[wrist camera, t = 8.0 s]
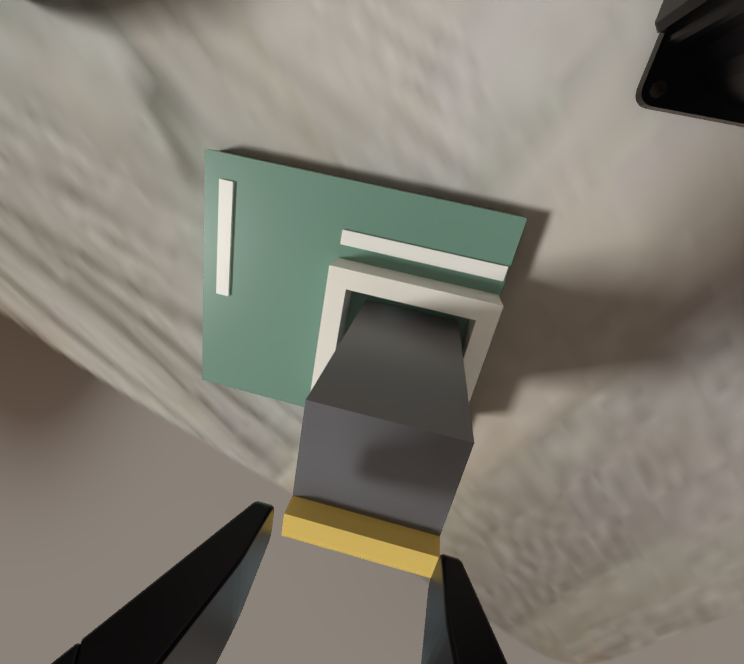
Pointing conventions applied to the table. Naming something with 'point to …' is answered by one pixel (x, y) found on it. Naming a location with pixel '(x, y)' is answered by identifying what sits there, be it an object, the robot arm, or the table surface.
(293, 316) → the header board
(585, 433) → the table surface
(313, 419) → the plug
